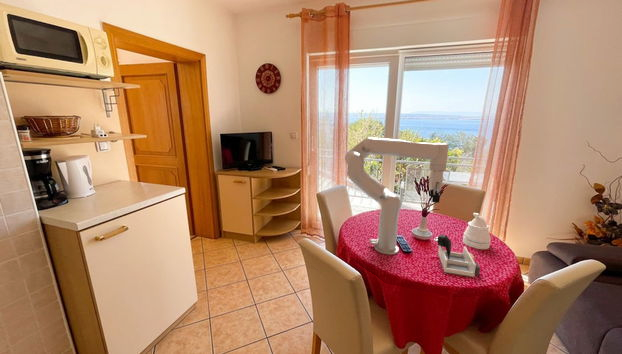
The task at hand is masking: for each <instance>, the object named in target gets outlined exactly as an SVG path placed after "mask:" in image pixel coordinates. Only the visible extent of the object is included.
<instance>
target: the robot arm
mask: <svg viewBox="0 0 622 354" xmlns="http://www.w3.org/2000/svg"><path fill="white" fill-rule="evenodd" d="M448 154H449V144H447V143H445V142H434V143H432V142H431V143H430V142H423V141H422V142H416V141H415V142H414V141H408V140H403V139H397V138H396V139H394V138H385V137H383V138H379V137H372V136H369V137H366V138H364V139H363V140H361V141H360V142H359V143H357V144H356V145H355V146H354V147H352V148H351V149H350V150H348V151H347V152H346V153H345V156H344V162H345V164H346V167H347V171H346V172H347V176H348V179H349V180H350V181H351V182H352V183H353V184H354V185H356V187H358V189H360V190H362V191H363V192H364V193H365V195H366V196H368V197H369V198H371V199H373V200H374V201H375V202H377V204H379V206H380V213H379V218H378V219H379V220H378V234H377V235H378V236H377V239H376V238H375V239H374V238H369V243H371V245H374V249H375V251H377V252H378V253H380V254H383V255H390V256H391V255H396V254H398V253H399V251H400V249H399V248H400V247H398V245H397V239H398V238H397V237H398V226H399V215H400V211H401V206H402V205H401V204H402V203H401V200H400V198H399V196H398V195H397V194H395V192H392V191H391V190H390V189H389V188H387V187H386V186H385V184H383V183H381V182H380V181H379V180H378V179H376V178H375V177H373V176H372V175H370V174H369V172H367V171H366V170H365V159H366V158H367V157H369V156H370V155H371V156H387V157H394V158H395V157H396V158H408V159H409V158H410V159H418V160H419V159H420V160H430V161H429V171H430V175H429V181H428V188H429V190H430V191H429V197H430V198H432V199H431V200H432V201H431V202H432V203H438V204H439V203H440V197H441V191H442V188H443V180H444V179H443V178H444V172H447V164H448V156H449V155H448Z"/></svg>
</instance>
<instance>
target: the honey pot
mask: <svg viewBox="0 0 622 354" xmlns="http://www.w3.org/2000/svg"><path fill="white" fill-rule="evenodd" d="M473 216H474V218H472V220H470V221H468V222H467V225H468V226H466V229H465V231H463V237H462V243H463V244H465V245H466V246H467V247H470V248H473V249H479V250H487V249H489V248H490V246H491V238H492V237H491V234H490V231H489V229H490V225H488V224H487V221H486V220H485V219H484V218H483V216H482V215H481V216H480V214H479V213H478V212H473Z"/></svg>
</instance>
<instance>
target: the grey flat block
mask: <svg viewBox="0 0 622 354" xmlns="http://www.w3.org/2000/svg"><path fill="white" fill-rule="evenodd" d="M474 262H475V264H476V268H475V274H474V276H478V277H479V276H480V272H481V267H480V264H478V262H476V261H474Z"/></svg>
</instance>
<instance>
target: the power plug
mask: <svg viewBox="0 0 622 354" xmlns="http://www.w3.org/2000/svg"><path fill="white" fill-rule="evenodd" d="M433 241H435V242H437V245H438V247H439V246H442V248H443V247H444V248H445V251H446V252H447V254H448V259H450V256H449V255H450V253H451V252H452V251H451V250H452V240H451V239H450V238H449V237H448V236H447V235H444V234H440V235H438V236H437V237H435V238H433Z"/></svg>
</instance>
